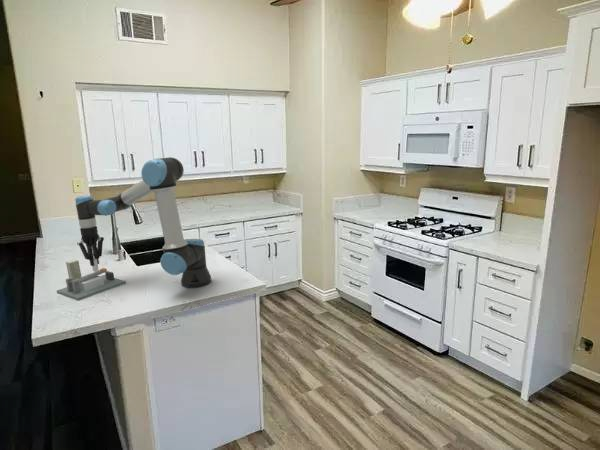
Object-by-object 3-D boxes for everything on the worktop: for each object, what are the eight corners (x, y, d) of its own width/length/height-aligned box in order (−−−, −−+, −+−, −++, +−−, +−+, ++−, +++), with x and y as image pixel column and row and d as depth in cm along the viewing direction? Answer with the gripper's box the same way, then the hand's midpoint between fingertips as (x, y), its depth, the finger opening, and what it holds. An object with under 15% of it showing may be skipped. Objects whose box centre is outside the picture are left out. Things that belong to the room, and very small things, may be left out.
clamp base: (126, 283, 205) (124, 269, 203) (78, 300, 185) (75, 285, 183) (104, 277, 216) (102, 263, 214) (56, 292, 195) (54, 278, 194)
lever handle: (107, 271, 205) (106, 268, 204) (76, 283, 192) (75, 280, 191) (104, 270, 206) (103, 267, 206) (73, 282, 193) (72, 279, 193)
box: (79, 277, 216) (75, 258, 213) (82, 279, 213) (79, 260, 211) (68, 280, 212) (65, 261, 209) (72, 282, 209) (68, 262, 207)
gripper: (96, 223, 203) (103, 266, 208) (71, 228, 192) (79, 273, 197) (104, 224, 199) (112, 268, 204) (79, 230, 188) (87, 276, 193)
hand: (95, 271), depth 201 cm, fingers closed
